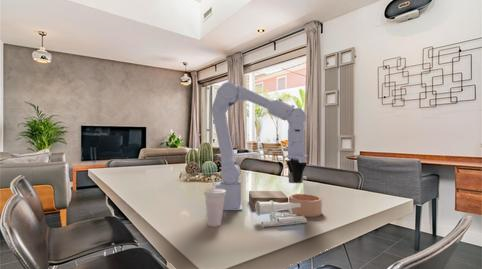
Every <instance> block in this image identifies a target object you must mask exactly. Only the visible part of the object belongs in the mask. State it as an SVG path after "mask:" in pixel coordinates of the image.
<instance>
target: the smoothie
mask: <svg viewBox="0 0 482 269" xmlns="http://www.w3.org/2000/svg"><path fill="white" fill-rule="evenodd" d="M215 178H216V176H215V175H212V188H207V189H205V190H204V191H203V192H204V193H203V195H204V198H205V206H206V216H207V217H206V218H207V225H208V227H213V228H214V227H220V226H221V225H222V218H223V211H224V210H223V206H224V199H225V195H226V190H224V189H218V188H215V183H216V181H215Z"/></svg>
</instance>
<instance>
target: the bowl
mask: <svg viewBox="0 0 482 269" xmlns="http://www.w3.org/2000/svg"><path fill="white" fill-rule="evenodd" d="M288 202H290V203H300V205H301V207H300V208H299V207H297V208H293V209H291V210H292V212H293V214H296V216H304V218H315V217H319V216H321V215H322V212H323V198H322V197H320V196H319V195H314V194H308V193H293V194H290V195H289V196H288Z"/></svg>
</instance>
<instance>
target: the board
mask: <svg viewBox="0 0 482 269" xmlns="http://www.w3.org/2000/svg"><path fill="white" fill-rule="evenodd" d="M257 201H259V202H269V201H273V202H278V203H287V202H289V196H287V195H286V194H285V193H284V192H283V191H282V190H248V203H249V205H250V207H251V208H250V209H251V210H255V204H256V202H257Z"/></svg>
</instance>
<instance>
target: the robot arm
mask: <svg viewBox="0 0 482 269" xmlns="http://www.w3.org/2000/svg"><path fill="white" fill-rule="evenodd" d="M238 101H239V102H240V103H241V102H247V101H248V102H249V103H253V104H255V105H257V106H260V107H262V108H264V109H267V112H268V114H269V115H271V116H274V117H276V118H277V119H280V120H282V121H287V124H288V130H287V155H286V157H287V160H286V161H285V163H286V166H287V168H288V171H289V172H292V173H293V180H294V182H301V178H302V174H303V175H304V170H305V169H306V167H307V165H308V164H307V162H306V161H307V160H306V158H308V156H309V155H307V154H305V122H306V120H307V115H306V113H305V110H303V109H302V108H299V107H297V108H296V107H295V105H294V104H288V103H285V102H283V99H281V98H274V99H272V100H271V99H270V98H269V99H268V98H267V97H264V96H263V95H260V94H259V93H256V92H255V91H252V90H250V89H248V88H247V87H244V86H242V85H239V84H234V83H233V82H231V81H229V82H227V81H226V82H224V83H223V84H222V85H220V86H219V88H218V89H217V90H216V94H215V98H214V101H213V103H212V106H211V113H212V118H213V123H214V128H215V133H216V138H217V143H218V149H219V153H220V165H221V170H220V178H221V180H220V182H215V183H214V188H218V189H224V190H226V195H225V199H224V206H223V211H242V210H243V206H242V203H241V200H242V199H241V198H242V196H241V195H242V181H241V179H239V177H240V176H241V173H242V169H241V167H240V165H239V164H238V162H237V159H236V158H237V157H236V155H235V151H234V148H233V142H232V138H231V132H230V127H229V123H228V117H227V112H228V110H230V108H231V107H232V106H233V105H235V104H236V103H237V102H238ZM289 172H288V173H289Z"/></svg>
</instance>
